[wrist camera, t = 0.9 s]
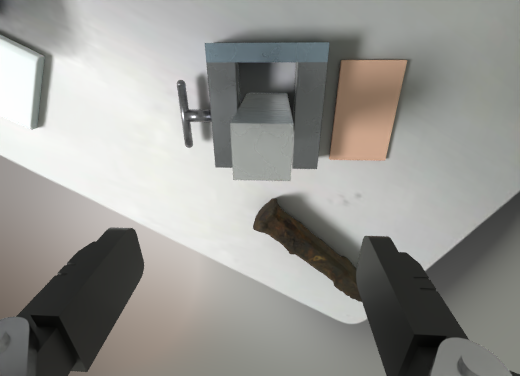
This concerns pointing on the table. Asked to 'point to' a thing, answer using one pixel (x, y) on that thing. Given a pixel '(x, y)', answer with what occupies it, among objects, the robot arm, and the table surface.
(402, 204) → the table surface
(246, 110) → the steel bar
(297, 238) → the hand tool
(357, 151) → the mat
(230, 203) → the table surface
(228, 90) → the vise
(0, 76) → the external hard drive
